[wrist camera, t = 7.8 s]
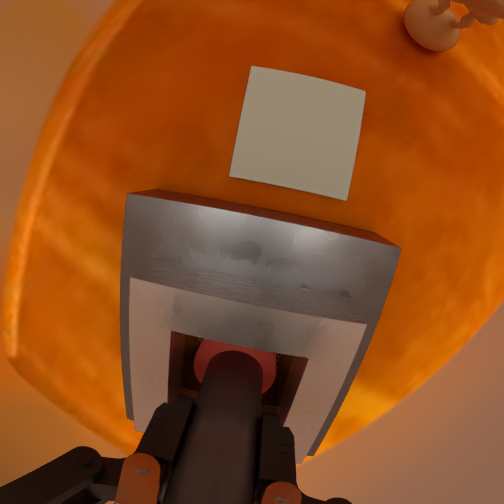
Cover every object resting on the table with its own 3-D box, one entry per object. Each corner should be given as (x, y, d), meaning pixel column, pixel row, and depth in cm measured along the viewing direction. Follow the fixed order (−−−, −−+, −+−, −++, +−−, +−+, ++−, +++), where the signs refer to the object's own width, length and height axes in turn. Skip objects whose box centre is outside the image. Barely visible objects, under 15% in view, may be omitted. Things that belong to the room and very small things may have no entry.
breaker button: (214, 293, 19) (197, 327, 14) (282, 307, 18) (285, 345, 14) (205, 350, 20) (190, 390, 15) (268, 362, 20) (266, 405, 15)
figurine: (468, 51, 13) (570, 3, 2) (453, 107, 15) (583, 75, 3) (376, -11, 13) (438, -111, 1) (350, 40, 14) (424, -78, 3)
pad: (252, 68, 15) (251, 65, 15) (364, 93, 15) (366, 91, 15) (229, 176, 17) (229, 176, 17) (345, 200, 17) (346, 201, 17)
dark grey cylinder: (210, 344, 14) (137, 548, 4) (268, 356, 14) (256, 572, 4) (204, 387, 15) (148, 565, 5) (257, 397, 15) (238, 583, 4)
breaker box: (156, 189, 18) (95, 198, 11) (376, 233, 17) (429, 265, 11) (144, 387, 22) (111, 445, 15) (309, 420, 21) (316, 486, 15)
